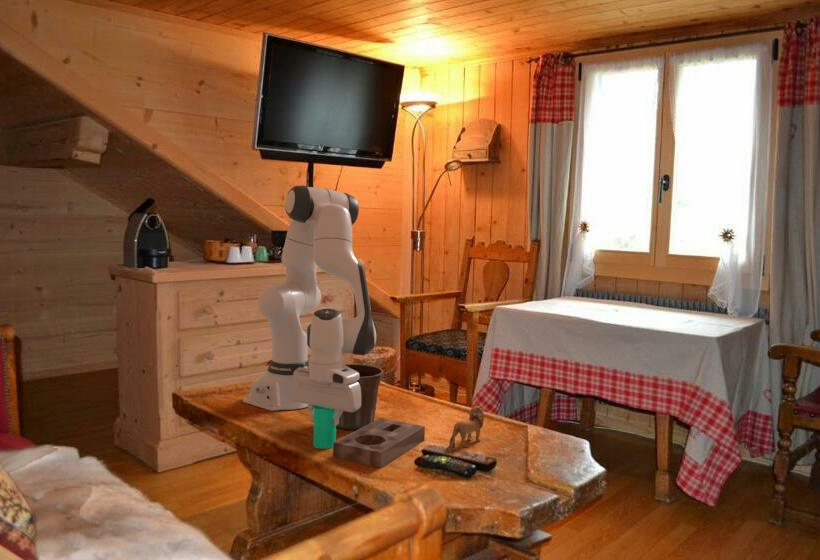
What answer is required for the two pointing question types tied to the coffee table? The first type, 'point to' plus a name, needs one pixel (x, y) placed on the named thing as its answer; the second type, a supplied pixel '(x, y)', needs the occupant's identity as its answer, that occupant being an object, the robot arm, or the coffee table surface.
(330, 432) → the candle
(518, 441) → the coffee table surface
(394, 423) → the socket block
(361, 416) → the plant pot
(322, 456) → the coffee table surface
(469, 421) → the lion figurine
